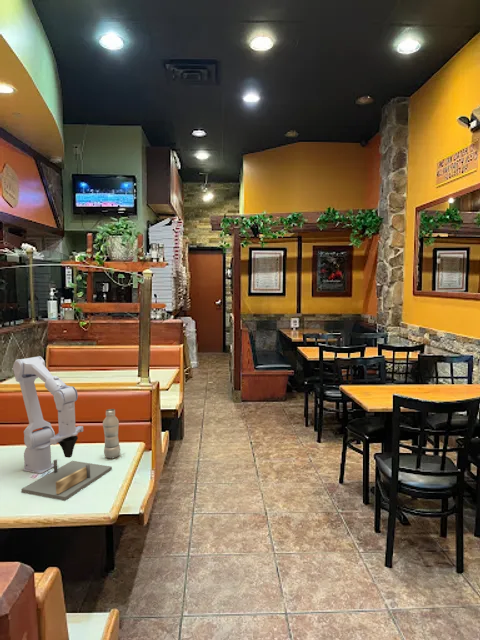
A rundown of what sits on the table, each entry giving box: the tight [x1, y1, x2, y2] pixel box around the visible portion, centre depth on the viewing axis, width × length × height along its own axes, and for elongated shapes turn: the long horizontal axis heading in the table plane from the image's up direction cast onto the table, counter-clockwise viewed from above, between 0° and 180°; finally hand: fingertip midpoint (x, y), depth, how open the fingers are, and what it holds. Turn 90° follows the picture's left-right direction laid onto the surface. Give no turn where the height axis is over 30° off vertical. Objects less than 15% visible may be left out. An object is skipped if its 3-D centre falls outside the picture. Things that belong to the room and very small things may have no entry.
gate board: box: [20, 459, 113, 501], centre depth 154 cm, size 19×25×6 cm
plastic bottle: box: [102, 408, 121, 459], centre depth 174 cm, size 6×7×20 cm
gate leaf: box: [56, 467, 87, 494], centre depth 147 cm, size 13×1×4 cm, turn 155°
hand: (68, 456), depth 154 cm, fingers closed
